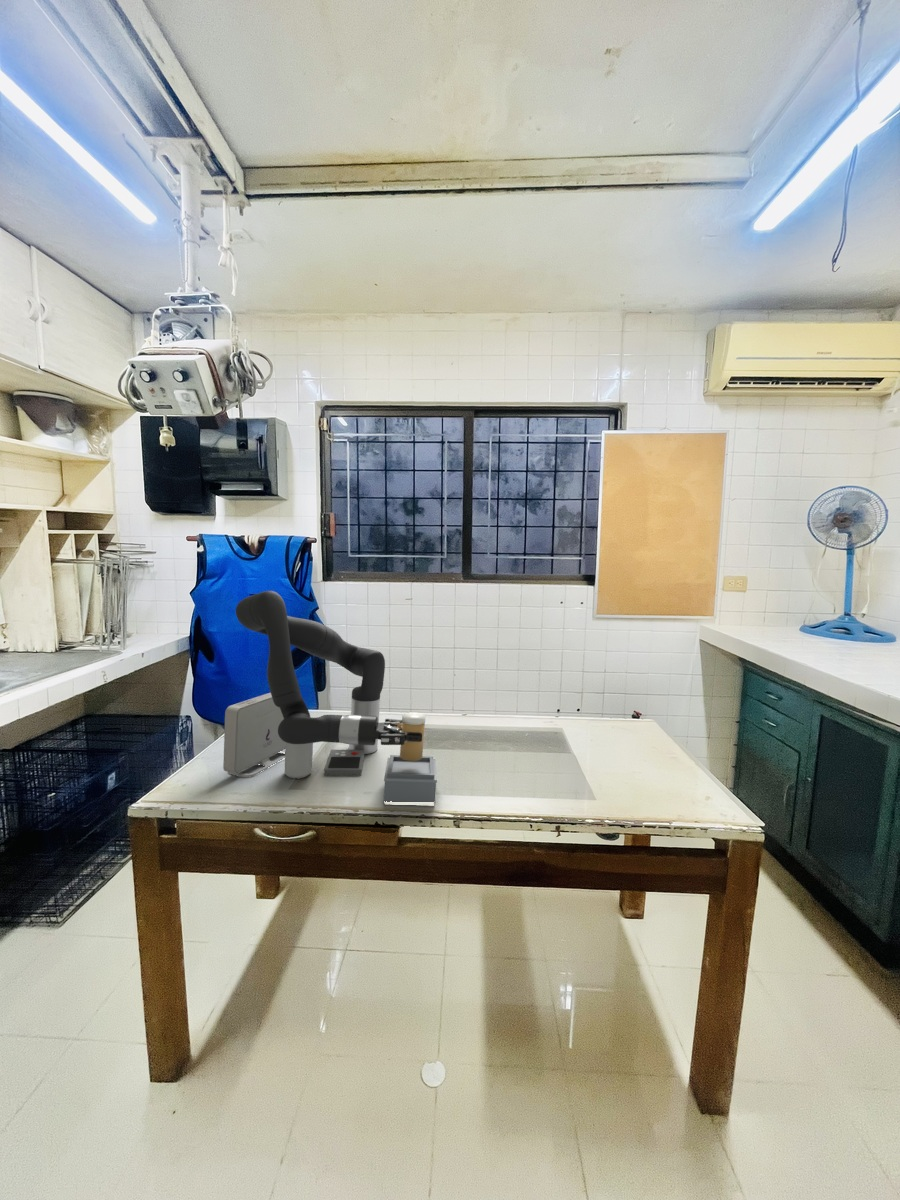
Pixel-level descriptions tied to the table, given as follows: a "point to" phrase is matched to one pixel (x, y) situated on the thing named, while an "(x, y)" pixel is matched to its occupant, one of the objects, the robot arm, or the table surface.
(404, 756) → the glass of beer
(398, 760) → the grey case
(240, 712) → the network device
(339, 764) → the electronic device
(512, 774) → the table surface
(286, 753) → the can
